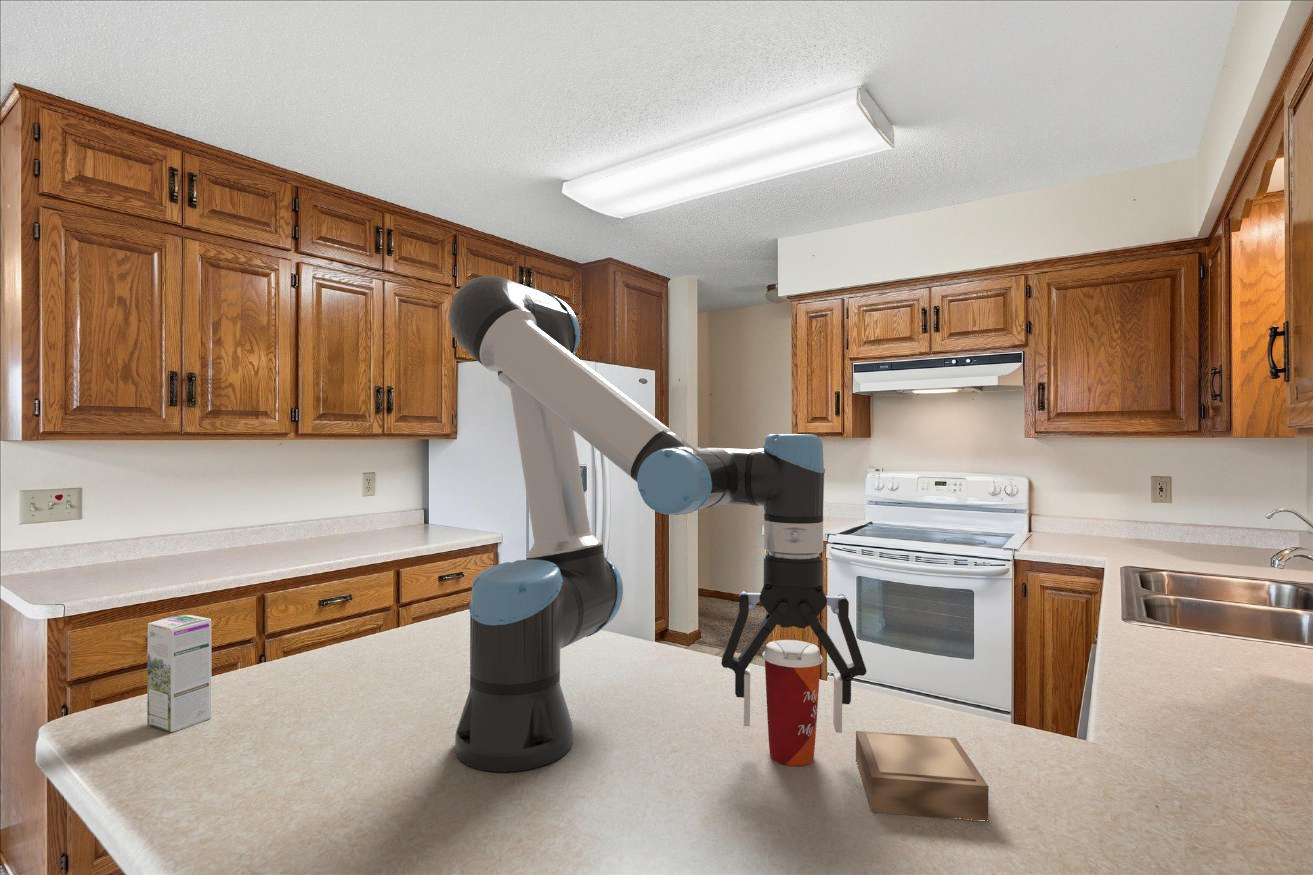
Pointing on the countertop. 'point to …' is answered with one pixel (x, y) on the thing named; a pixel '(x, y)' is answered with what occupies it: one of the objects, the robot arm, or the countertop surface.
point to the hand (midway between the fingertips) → (791, 725)
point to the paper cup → (792, 700)
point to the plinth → (920, 776)
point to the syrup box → (179, 672)
